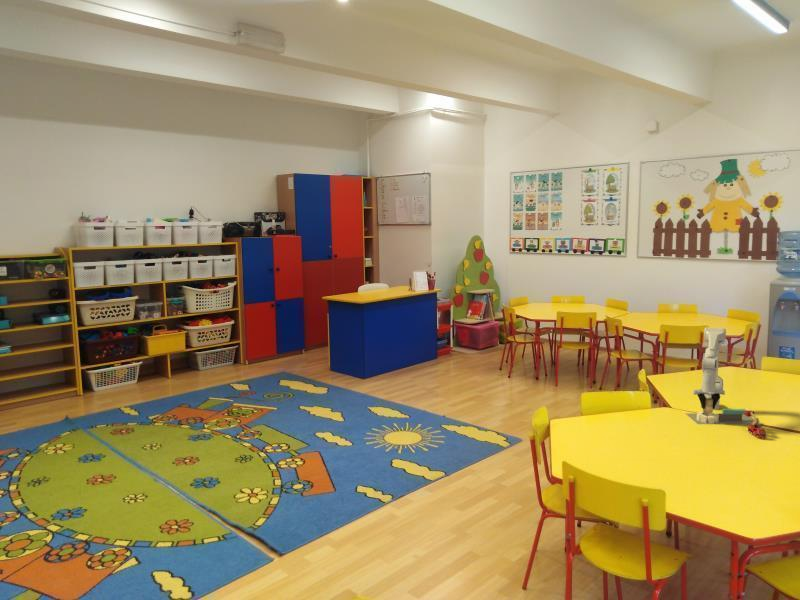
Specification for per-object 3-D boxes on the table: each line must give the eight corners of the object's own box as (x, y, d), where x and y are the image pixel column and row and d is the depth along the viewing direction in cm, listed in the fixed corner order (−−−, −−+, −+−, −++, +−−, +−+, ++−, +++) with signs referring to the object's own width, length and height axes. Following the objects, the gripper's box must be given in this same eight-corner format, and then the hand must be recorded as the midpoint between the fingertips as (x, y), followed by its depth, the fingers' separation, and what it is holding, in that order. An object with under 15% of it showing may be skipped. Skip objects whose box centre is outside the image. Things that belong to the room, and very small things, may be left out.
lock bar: (721, 412, 301) (722, 408, 301) (747, 412, 300) (747, 408, 300) (724, 414, 298) (724, 410, 298) (749, 414, 297) (749, 410, 297)
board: (685, 415, 312) (685, 407, 311) (746, 415, 309) (746, 407, 308) (697, 426, 296) (697, 417, 295) (761, 426, 293) (762, 418, 292)
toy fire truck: (759, 439, 277) (760, 419, 276) (743, 429, 291) (744, 409, 289) (766, 439, 277) (767, 419, 276) (750, 429, 291) (751, 409, 289)
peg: (701, 411, 303) (702, 397, 302) (710, 411, 302) (710, 397, 301) (705, 413, 298) (705, 400, 298) (714, 413, 298) (714, 400, 297)
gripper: (697, 384, 295) (696, 410, 297) (728, 384, 294) (726, 410, 295) (691, 380, 302) (690, 406, 304) (721, 380, 300) (720, 406, 302)
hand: (708, 408), depth 300 cm, fingers closed on peg, 4 cm apart
